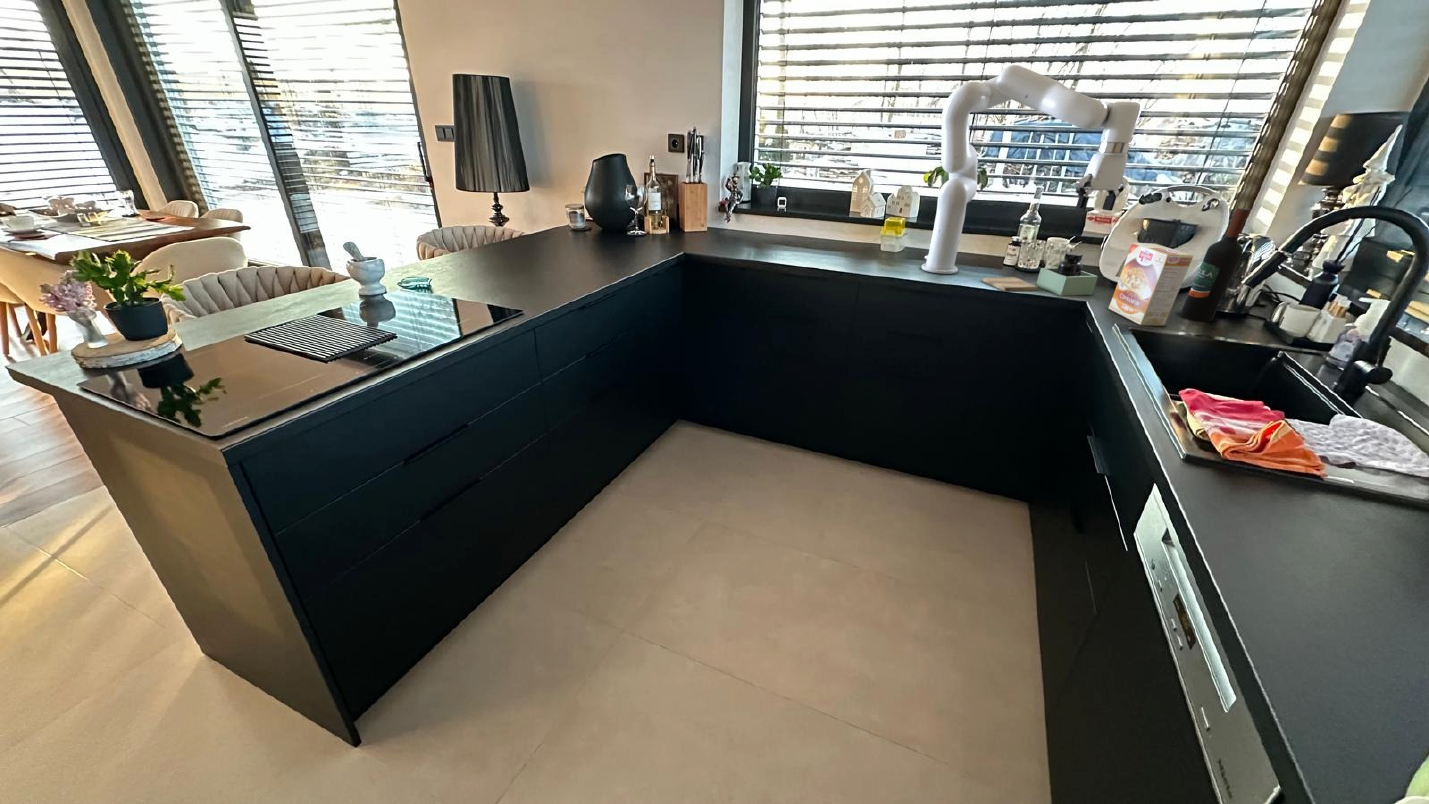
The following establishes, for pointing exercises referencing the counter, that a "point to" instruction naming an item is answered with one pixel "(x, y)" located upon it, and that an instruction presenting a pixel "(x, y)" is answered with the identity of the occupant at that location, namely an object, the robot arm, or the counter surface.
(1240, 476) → the counter surface
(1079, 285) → the box
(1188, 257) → the coffeecake box
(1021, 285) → the cork board
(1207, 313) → the wine bottle
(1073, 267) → the supplement bottle
